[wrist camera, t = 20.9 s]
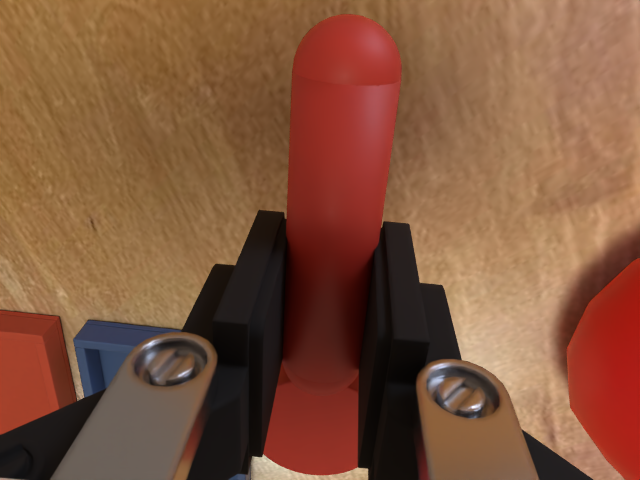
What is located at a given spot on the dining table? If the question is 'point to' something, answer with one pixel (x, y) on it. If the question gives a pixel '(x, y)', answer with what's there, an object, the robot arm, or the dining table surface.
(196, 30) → the dining table surface
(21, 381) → the red tray
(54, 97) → the dining table surface
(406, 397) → the robot arm
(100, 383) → the blue tray
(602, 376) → the teapot
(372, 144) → the red spoon
